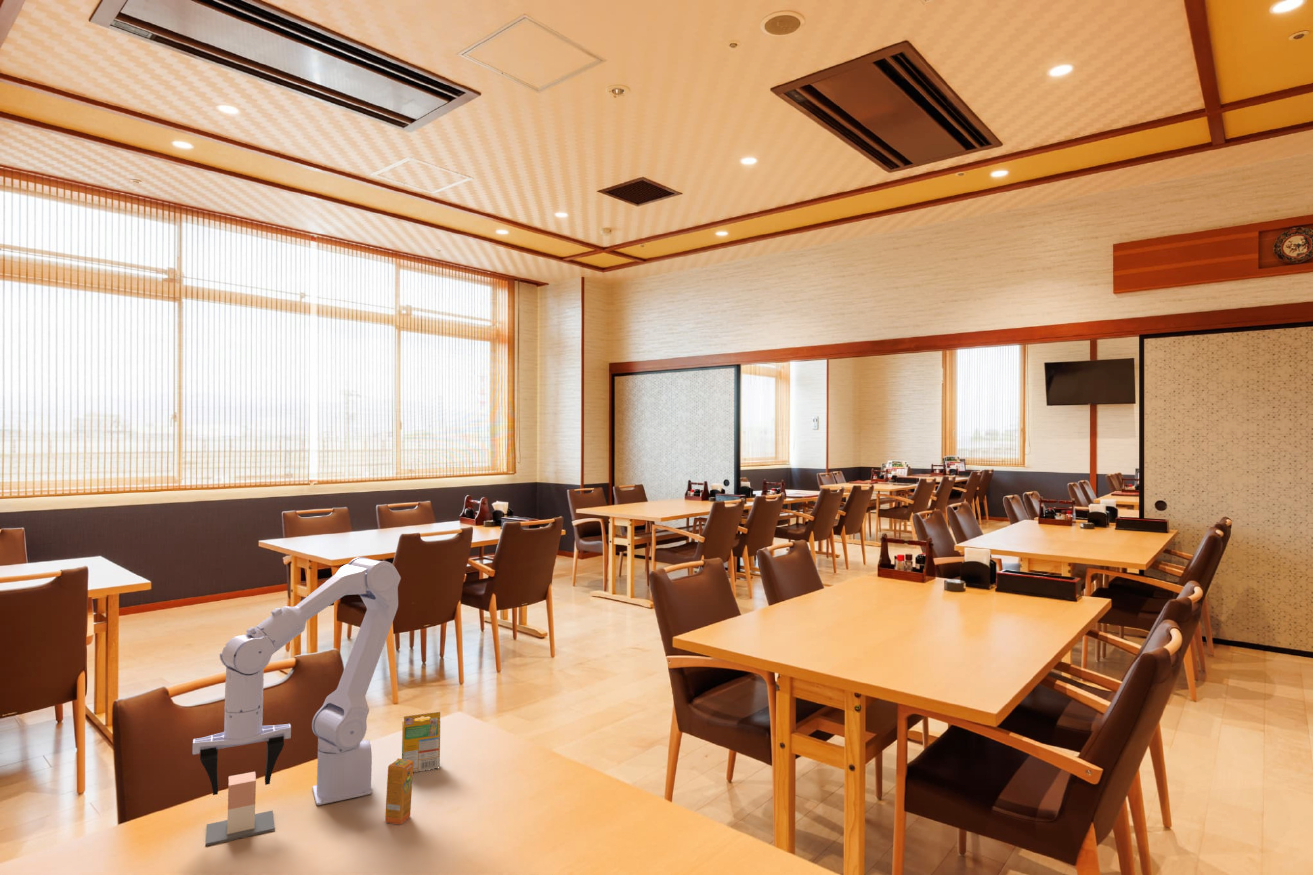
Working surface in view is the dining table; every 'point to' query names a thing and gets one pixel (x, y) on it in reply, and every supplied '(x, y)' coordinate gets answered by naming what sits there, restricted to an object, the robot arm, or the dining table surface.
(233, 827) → the cream block
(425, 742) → the crayon box
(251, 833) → the build mat
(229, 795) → the terracotta block
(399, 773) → the supplement box
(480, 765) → the dining table surface
